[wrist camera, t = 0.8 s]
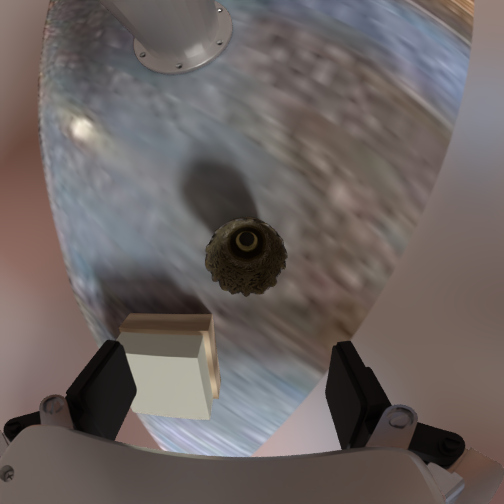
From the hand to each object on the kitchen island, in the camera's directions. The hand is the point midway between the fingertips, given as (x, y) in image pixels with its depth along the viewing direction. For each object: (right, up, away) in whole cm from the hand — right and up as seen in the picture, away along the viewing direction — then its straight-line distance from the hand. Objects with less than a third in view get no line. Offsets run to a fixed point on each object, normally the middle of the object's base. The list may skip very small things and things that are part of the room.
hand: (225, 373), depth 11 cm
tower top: (-10, -10, +22) cm, 26 cm away
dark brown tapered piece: (+1, +7, +22) cm, 23 cm away
